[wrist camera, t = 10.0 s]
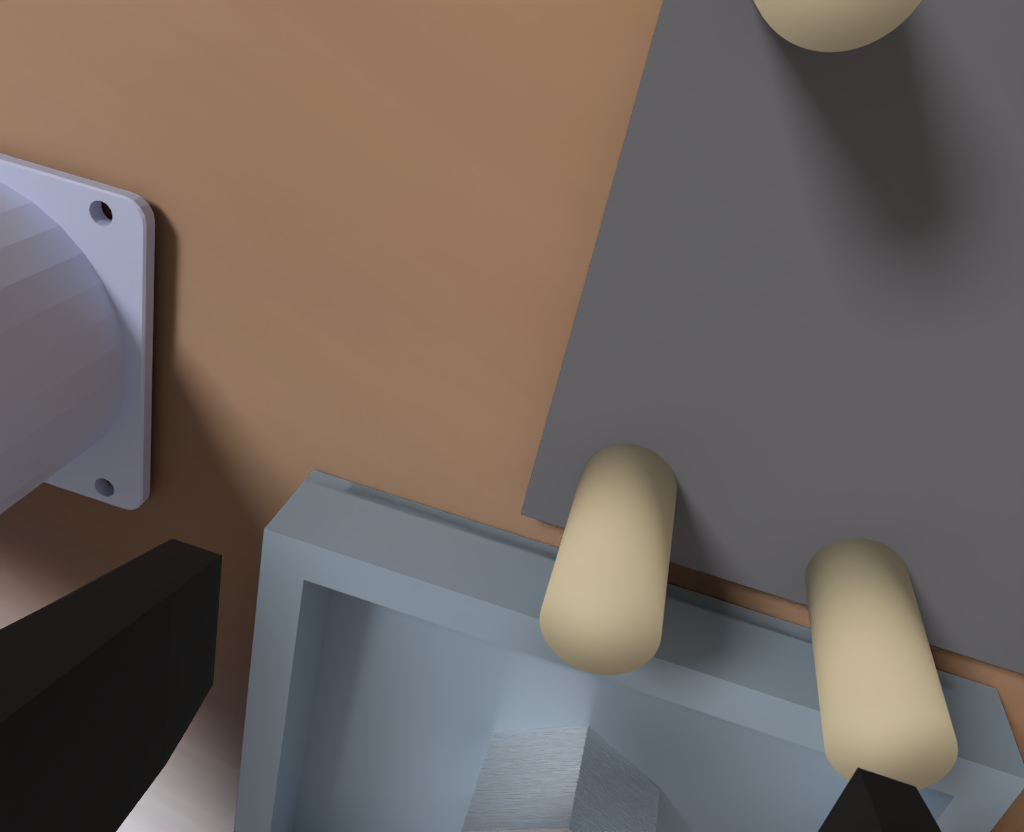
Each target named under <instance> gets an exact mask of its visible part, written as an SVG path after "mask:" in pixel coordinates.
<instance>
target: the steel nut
mask: <svg viewBox="0 0 1024 832" xmlns="http://www.w3.org/2000/svg"><path fill="white" fill-rule="evenodd" d="M659 791H660V787H659V786H657V785H656V784H655V783H654V782H653V781H652V780H651V779H649V778H648V777H647V776H646V775H645V774H644V773H643V772H641V771H640V770H639V769H638V768H637V767H636V766H635V765H633V764H632V763H631V762H630V761H629V760H628V759H626V758H625V757H624V756H623V755H622V754H621V753H620V752H618V751H617V750H616V749H615V748H614V747H613V746H612V745H610V744H609V743H608V742H607V741H606V740H605V739H604V738H602V737H601V736H600V735H599V734H598V733H597V732H596V731H594V730H593V729H592V728H591V727H590V726H589V725H582V726H567V727H552V728H536V729H521V730H505V731H493V733H492V736H491V739H490V742H489V745H488V749H487V752H486V755H485V758H484V761H483V765H482V768H481V771H480V774H479V777H478V780H477V784H476V787H475V790H474V793H473V796H472V800H471V803H470V806H469V809H468V812H467V816H466V819H465V822H464V825H463V828H462V831H461V832H656V824H657V813H658V802H659Z"/></svg>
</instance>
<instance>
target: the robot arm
mask: <svg viewBox="0 0 1024 832" xmlns="http://www.w3.org/2000/svg"><path fill="white" fill-rule="evenodd" d="M102 202H104V203H106V204H107V205H108V206H109V208H110V209H111V211H112V215H113V218H112V220H110V219H109V218H107V217H106V216H105V214H104V213H103V211H102V207H101V204H102ZM154 253H155V219H154V213H153V211H152V209H151V207H150V205H149V204H148V203H147V202H146V201H145V200H144V199H143V198H142V197H141V196H139V195H137V194H135V193H133V192H130V191H126V190H123V189H119V188H116V187H113V186H109V185H106V184H103V183H99V182H96V181H92V180H89V179H86V178H82V177H79V176H76V175H72V174H69V173H65V172H62V171H59V170H55V169H52V168H49V167H45V166H42V165H38V164H35V163H32V162H28V161H25V160H22V159H18V158H15V157H11V156H8V155H5V154H1V153H0V514H2V513H3V512H4V511H6V510H7V509H8V508H10V507H11V506H12V505H14V504H15V503H16V502H18V501H19V500H20V499H22V498H23V497H24V496H26V495H27V494H28V493H30V492H31V491H32V490H34V489H35V488H36V487H38V486H39V485H40V484H42V483H43V482H45V483H48V484H51V485H54V486H57V487H60V488H63V489H66V490H69V491H72V492H75V493H78V494H81V495H84V496H87V497H90V498H93V499H96V500H99V501H102V502H105V503H108V504H111V505H114V506H117V507H120V508H123V509H128V510H133V509H137V508H138V507H140V506H141V505H142V504H143V503H144V502H145V501H146V500H147V499H148V498H149V494H150V464H151V411H152V358H153V305H154ZM105 479H106V480H108V481H109V482H110V483H111V484H112V485H113V487H112V486H110V485H109V484H108V483H107V482H106V480H105ZM221 564H222V555H219V554H216V553H213V552H210V551H207V550H204V549H201V548H198V547H195V546H192V545H189V544H186V543H183V542H180V541H177V540H174V539H171V540H169V541H167V542H165V543H163V544H162V545H160V546H158V547H156V548H154V549H152V550H150V551H148V552H146V553H144V554H142V555H140V556H138V557H136V558H135V559H133V560H131V561H129V562H127V563H125V564H123V565H122V566H120V567H118V568H116V569H114V570H112V571H110V572H109V573H107V574H105V575H103V576H101V577H99V578H98V579H96V580H94V581H92V582H90V583H88V584H86V585H85V586H83V587H81V588H79V589H77V590H75V591H73V592H71V593H70V594H68V595H66V596H64V597H62V598H60V599H58V600H57V601H55V602H53V603H51V604H49V605H47V606H45V607H43V608H41V609H39V610H37V611H35V612H34V613H32V614H30V615H28V616H26V617H24V618H22V619H20V620H18V621H16V622H14V623H12V624H10V625H8V626H6V627H4V628H2V629H0V832H116V831H117V830H118V828H119V827H120V826H121V824H122V823H123V821H124V820H125V819H126V817H127V816H128V815H129V813H130V812H131V811H132V809H133V808H134V807H135V805H136V804H137V803H138V801H139V800H140V799H141V797H142V796H143V795H144V793H145V792H146V791H147V789H148V788H149V787H150V785H151V784H152V783H153V781H154V780H155V778H156V777H157V776H158V774H159V773H160V772H161V770H162V769H163V768H164V766H165V765H166V763H167V762H168V760H169V758H170V757H171V755H172V753H173V752H174V750H175V748H176V747H177V745H178V743H179V742H180V740H181V738H182V737H183V735H184V733H185V732H186V730H187V728H188V727H189V725H190V723H191V721H192V720H193V718H194V716H195V714H196V713H197V711H198V709H199V707H200V706H201V704H202V702H203V700H204V699H205V697H206V695H207V694H208V692H209V690H210V688H211V687H212V685H213V676H214V662H215V648H216V634H217V620H218V606H219V592H220V578H221ZM818 832H941V830H940V828H939V826H938V824H937V823H936V821H935V819H934V817H933V816H932V814H931V812H930V810H929V808H928V807H927V805H926V803H925V802H924V800H923V798H922V796H921V795H920V793H919V791H918V789H917V788H916V787H915V786H912V785H909V784H906V783H903V782H900V781H897V780H894V779H891V778H888V777H885V776H882V775H879V774H876V773H873V772H870V771H867V770H864V769H861V768H857V769H856V771H855V773H854V774H853V776H852V777H851V779H850V781H849V782H848V784H847V785H846V787H845V789H844V790H843V792H842V793H841V795H840V797H839V798H838V800H837V802H836V803H835V805H834V806H833V808H832V810H831V811H830V813H829V814H828V816H827V818H826V819H825V821H824V822H823V824H822V826H821V827H820V829H819V830H818Z"/></svg>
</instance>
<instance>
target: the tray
mask: <svg viewBox="0 0 1024 832" xmlns="http://www.w3.org/2000/svg"><path fill="white" fill-rule="evenodd" d="M558 551H559V548H556V547H553V546H550V545H547V544H544V543H541V542H538V541H534V540H531V539H528V538H525V537H522V536H519V535H516V534H513V533H510V532H506V531H503V530H500V529H497V528H494V527H491V526H488V525H485V524H481V523H478V522H475V521H472V520H469V519H466V518H463V517H460V516H457V515H453V514H450V513H447V512H444V511H441V510H438V509H435V508H432V507H428V506H425V505H422V504H419V503H416V502H413V501H410V500H407V499H403V498H400V497H397V496H394V495H391V494H388V493H385V492H382V491H379V490H375V489H372V488H369V487H366V486H363V485H360V484H357V483H354V482H350V481H347V480H344V479H341V478H338V477H335V476H332V475H329V474H326V473H322V472H319V471H316V470H313V471H312V472H311V473H310V474H309V476H308V477H307V478H306V479H305V480H304V482H303V483H302V484H301V485H300V486H299V488H298V489H297V490H296V491H295V492H294V494H293V495H292V496H291V497H290V498H289V500H288V501H287V502H286V503H285V504H284V506H283V507H282V508H281V509H280V510H279V512H278V513H277V514H276V515H275V516H274V518H273V519H272V520H271V521H270V522H269V524H268V525H267V526H266V527H265V528H264V535H263V545H262V555H261V565H260V575H259V585H258V595H257V605H256V615H255V625H254V635H253V645H252V655H251V665H250V675H249V685H248V695H247V705H246V715H245V725H244V735H243V745H242V755H241V765H240V775H239V786H238V796H237V806H236V816H235V826H234V832H461V831H462V828H463V825H464V822H465V819H466V816H467V812H468V809H469V806H470V803H471V800H472V796H473V793H474V790H475V787H476V784H477V780H478V777H479V774H480V771H481V768H482V765H483V761H484V758H485V755H486V752H487V749H488V745H489V742H490V739H491V736H492V733H493V731H505V730H521V729H536V728H552V727H567V726H582V725H589V726H590V727H591V728H592V729H593V730H594V731H596V732H597V733H598V734H599V735H600V736H601V737H602V738H604V739H605V740H606V741H607V742H608V743H609V744H610V745H612V746H613V747H614V748H615V749H616V750H617V751H618V752H620V753H621V754H622V755H623V756H624V757H625V758H626V759H628V760H629V761H630V762H631V763H632V764H633V765H635V766H636V767H637V768H638V769H639V770H640V771H641V772H643V773H644V774H645V775H646V776H647V777H648V778H649V779H651V780H652V781H653V782H654V783H655V784H656V785H657V786H659V787H660V791H659V802H658V813H657V824H656V832H818V830H819V829H820V827H821V826H822V824H823V822H824V821H825V819H826V818H827V816H828V814H829V813H830V811H831V810H832V808H833V806H834V805H835V803H836V802H837V800H838V798H839V797H840V795H841V793H842V792H843V790H844V789H845V787H846V785H847V784H848V782H849V781H848V780H847V779H845V778H844V777H842V776H841V775H840V774H839V773H838V772H837V771H836V770H835V769H834V768H833V767H832V765H831V764H830V763H829V761H828V759H827V757H826V753H825V748H824V740H823V731H822V722H821V714H820V705H819V697H818V688H817V680H816V671H815V662H814V654H813V645H812V637H811V629H809V628H806V627H803V626H800V625H796V624H793V623H790V622H787V621H784V620H781V619H778V618H775V617H772V616H768V615H765V614H762V613H759V612H756V611H753V610H750V609H747V608H743V607H740V606H737V605H734V604H731V603H728V602H725V601H722V600H718V599H715V598H712V597H709V596H706V595H703V594H700V593H697V592H694V591H690V590H687V589H684V588H681V587H678V586H675V585H672V584H669V583H667V589H666V598H665V607H664V617H663V626H662V635H661V642H660V645H659V648H658V650H657V652H656V653H655V655H654V656H653V657H652V658H651V659H650V660H649V661H648V662H647V663H646V664H645V665H643V666H642V667H640V668H638V669H636V670H633V671H631V672H628V673H624V674H617V675H600V674H594V673H589V672H586V671H583V670H580V669H578V668H575V667H573V666H571V665H570V664H568V663H566V662H565V661H563V660H562V659H561V658H560V657H558V656H557V655H556V654H555V653H554V652H553V651H552V650H551V648H550V647H549V646H548V644H547V643H546V641H545V639H544V637H543V635H542V632H541V628H540V612H541V607H542V604H543V601H544V597H545V594H546V591H547V587H548V584H549V581H550V577H551V574H552V571H553V567H554V564H555V561H556V557H557V554H558ZM936 670H937V669H936ZM937 674H938V677H939V681H940V684H941V688H942V691H943V694H944V698H945V701H946V705H947V708H948V712H949V715H950V719H951V722H952V726H953V729H954V733H955V736H956V740H957V744H958V754H957V759H956V761H955V764H954V766H953V767H952V769H951V770H950V771H949V772H948V774H947V775H945V776H944V777H943V778H942V779H941V780H939V781H938V782H936V783H934V784H932V785H930V786H928V787H925V788H923V789H919V790H918V791H919V793H920V795H921V796H922V798H923V800H924V802H925V803H926V805H927V807H928V808H929V810H930V812H931V814H932V816H933V817H934V819H935V821H936V823H937V824H938V826H939V828H940V830H941V832H990V831H991V830H992V829H993V827H994V826H995V825H996V824H997V822H998V821H999V820H1000V818H1001V817H1002V816H1003V815H1004V813H1005V812H1006V811H1007V809H1008V808H1009V807H1010V806H1011V804H1012V803H1013V802H1014V800H1015V799H1016V798H1017V797H1018V795H1019V794H1020V793H1021V791H1022V790H1023V789H1024V763H1023V760H1022V758H1021V755H1020V752H1019V749H1018V747H1017V744H1016V741H1015V738H1014V736H1013V733H1012V730H1011V727H1010V725H1009V722H1008V719H1007V716H1006V714H1005V711H1004V708H1003V705H1002V703H1001V700H1000V697H999V694H998V692H997V689H996V688H993V687H990V686H987V685H984V684H980V683H977V682H974V681H971V680H968V679H965V678H962V677H959V676H956V675H952V674H949V673H946V672H943V671H940V670H937Z"/></svg>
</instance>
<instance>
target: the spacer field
mask: <svg viewBox="0 0 1024 832" xmlns="http://www.w3.org/2000/svg"><path fill="white" fill-rule="evenodd" d="M521 515H524V516H527V517H531V518H534V519H537V520H540V521H543V522H546V523H549V524H552V525H556V526H559V527H562V528H565V531H564V534H563V537H562V541H561V544H560V547H559V551H558V554H557V557H556V561H555V564H554V567H553V571H552V574H551V577H550V581H549V584H548V587H547V591H546V594H545V597H544V601H543V604H542V607H541V612H540V628H541V632H542V635H543V637H544V639H545V641H546V643H547V644H548V646H549V647H550V648H551V650H552V651H553V652H554V653H555V654H556V655H557V656H558V657H560V658H561V659H562V660H563V661H565V662H566V663H568V664H570V665H571V666H573V667H575V668H578V669H580V670H583V671H586V672H589V673H594V674H600V675H617V674H624V673H628V672H631V671H633V670H636V669H638V668H640V667H642V666H643V665H645V664H646V663H647V662H648V661H649V660H650V659H651V658H652V657H653V656H654V655H655V653H656V652H657V650H658V648H659V645H660V642H661V635H662V626H663V617H664V607H665V598H666V589H667V579H668V570H669V562H672V563H675V564H678V565H681V566H684V567H688V568H691V569H694V570H697V571H700V572H703V573H706V574H710V575H713V576H716V577H719V578H722V579H725V580H728V581H732V582H735V583H738V584H741V585H744V586H747V587H750V588H754V589H757V590H760V591H763V592H766V593H769V594H772V595H776V596H779V597H782V598H785V599H788V600H791V601H794V602H798V603H801V604H804V605H807V606H808V611H809V619H810V628H811V637H812V645H813V654H814V662H815V671H816V680H817V688H818V697H819V705H820V714H821V722H822V731H823V740H824V748H825V753H826V757H827V759H828V761H829V763H830V764H831V765H832V767H833V768H834V769H835V770H836V771H837V772H838V773H839V774H840V775H841V776H842V777H844V778H845V779H847V780H848V781H850V779H851V777H852V776H853V774H854V773H855V771H856V769H857V768H861V769H864V770H867V771H870V772H873V773H876V774H879V775H882V776H885V777H888V778H891V779H894V780H897V781H900V782H903V783H906V784H909V785H912V786H915V787H916V788H917V789H918V790H919V789H923V788H925V787H928V786H930V785H932V784H934V783H936V782H938V781H939V780H941V779H942V778H943V777H944V776H945V775H947V774H948V772H949V771H950V770H951V769H952V767H953V766H954V764H955V761H956V759H957V754H958V744H957V740H956V736H955V733H954V729H953V726H952V722H951V719H950V715H949V712H948V708H947V705H946V701H945V698H944V694H943V691H942V688H941V684H940V681H939V677H938V674H937V670H936V667H935V663H934V660H933V656H932V653H931V649H930V646H929V645H933V646H936V647H939V648H942V649H945V650H948V651H951V652H955V653H958V654H961V655H964V656H967V657H970V658H973V659H977V660H980V661H983V662H986V663H989V664H992V665H995V666H999V667H1002V668H1005V669H1008V670H1011V671H1014V672H1017V673H1021V674H1024V0H663V3H662V7H661V10H660V14H659V17H658V21H657V25H656V28H655V32H654V35H653V39H652V43H651V46H650V50H649V53H648V57H647V61H646V64H645V68H644V71H643V75H642V79H641V82H640V86H639V90H638V93H637V97H636V100H635V104H634V108H633V111H632V115H631V118H630V122H629V126H628V129H627V133H626V136H625V140H624V144H623V147H622V151H621V154H620V158H619V162H618V165H617V169H616V172H615V176H614V180H613V183H612V187H611V190H610V194H609V198H608V201H607V205H606V208H605V212H604V216H603V219H602V223H601V226H600V230H599V234H598V237H597V241H596V244H595V248H594V252H593V255H592V259H591V262H590V266H589V270H588V273H587V277H586V280H585V284H584V288H583V291H582V295H581V298H580V302H579V306H578V309H577V313H576V316H575V320H574V324H573V327H572V331H571V334H570V338H569V342H568V345H567V349H566V353H565V356H564V360H563V363H562V367H561V371H560V374H559V378H558V381H557V385H556V389H555V392H554V396H553V399H552V403H551V407H550V410H549V414H548V417H547V421H546V425H545V428H544V432H543V435H542V439H541V443H540V446H539V450H538V453H537V457H536V461H535V464H534V468H533V471H532V475H531V479H530V482H529V486H528V489H527V493H526V497H525V500H524V504H523V507H522V511H521Z"/></svg>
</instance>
